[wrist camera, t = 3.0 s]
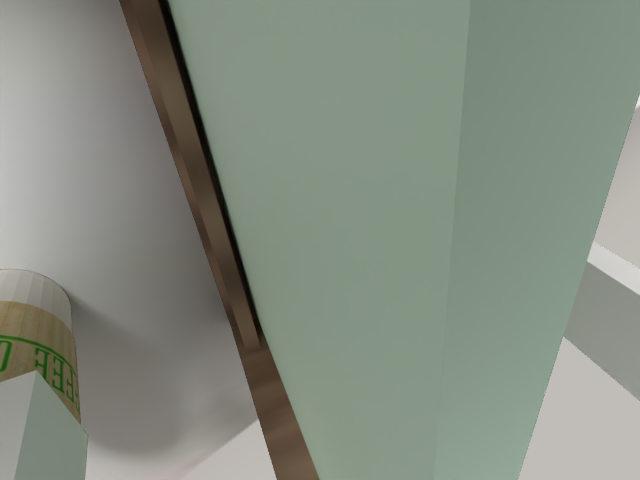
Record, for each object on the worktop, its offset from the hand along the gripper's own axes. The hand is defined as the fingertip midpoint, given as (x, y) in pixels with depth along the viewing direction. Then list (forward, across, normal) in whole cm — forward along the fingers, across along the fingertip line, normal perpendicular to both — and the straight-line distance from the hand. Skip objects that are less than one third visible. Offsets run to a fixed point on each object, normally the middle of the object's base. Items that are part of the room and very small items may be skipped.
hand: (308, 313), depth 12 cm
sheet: (+15, 0, 0) cm, 15 cm away
